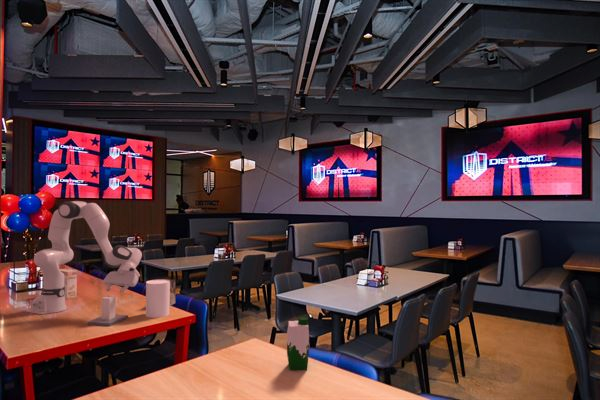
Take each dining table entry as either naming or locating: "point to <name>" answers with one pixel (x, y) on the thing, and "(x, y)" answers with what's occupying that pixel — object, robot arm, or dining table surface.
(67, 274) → the coffeecake box
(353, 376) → the dining table surface
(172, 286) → the coffee box
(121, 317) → the slate board
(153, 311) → the canister
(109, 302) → the white post
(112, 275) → the robot arm
